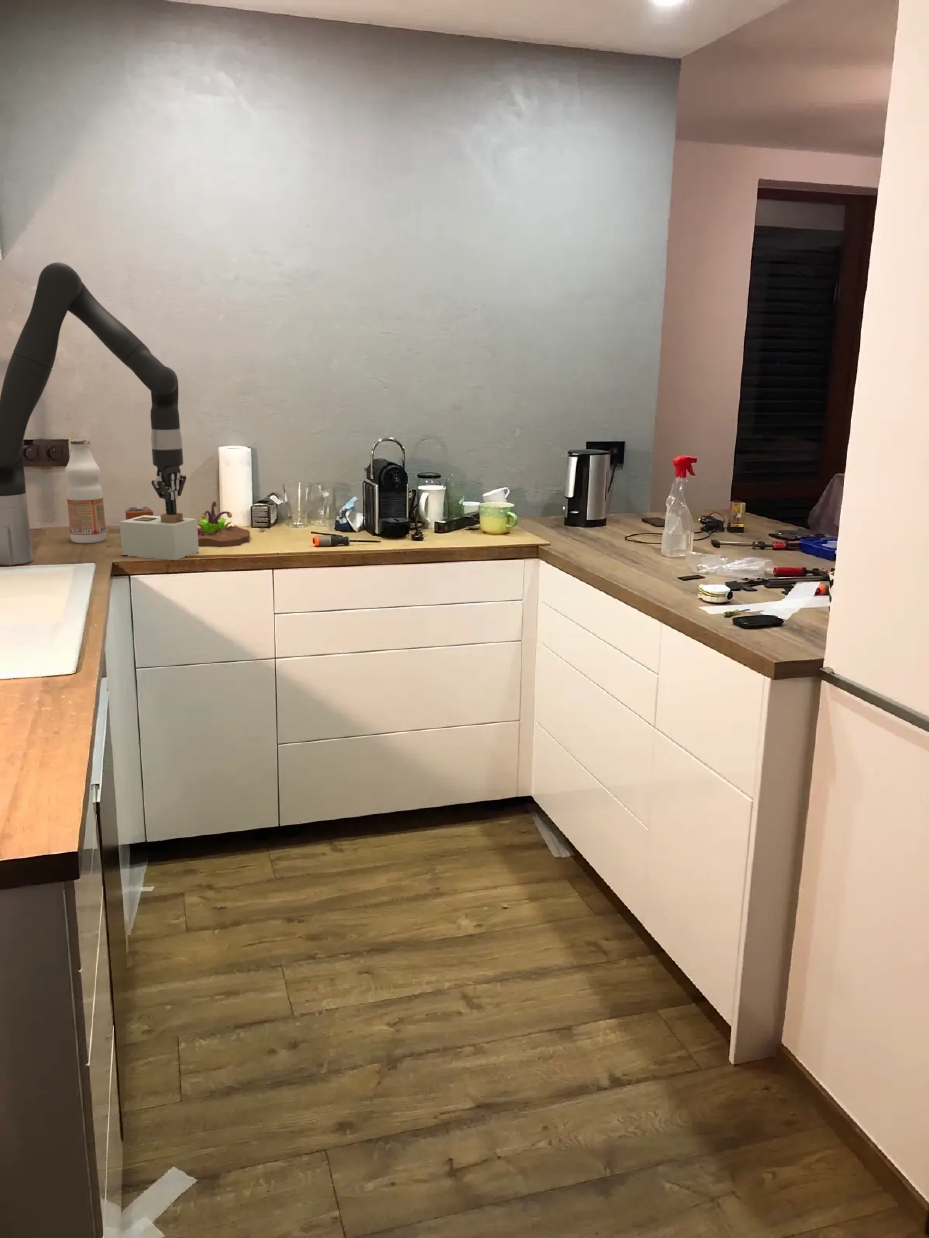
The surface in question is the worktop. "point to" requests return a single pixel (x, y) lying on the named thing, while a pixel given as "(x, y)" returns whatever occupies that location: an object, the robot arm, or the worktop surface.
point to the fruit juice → (84, 495)
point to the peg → (171, 518)
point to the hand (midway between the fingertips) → (171, 513)
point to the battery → (138, 512)
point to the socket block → (159, 538)
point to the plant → (220, 531)
